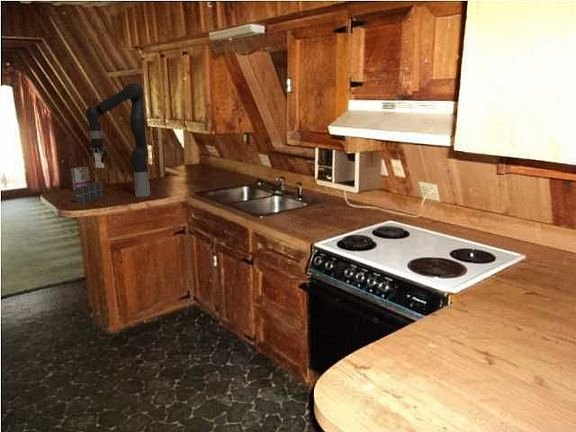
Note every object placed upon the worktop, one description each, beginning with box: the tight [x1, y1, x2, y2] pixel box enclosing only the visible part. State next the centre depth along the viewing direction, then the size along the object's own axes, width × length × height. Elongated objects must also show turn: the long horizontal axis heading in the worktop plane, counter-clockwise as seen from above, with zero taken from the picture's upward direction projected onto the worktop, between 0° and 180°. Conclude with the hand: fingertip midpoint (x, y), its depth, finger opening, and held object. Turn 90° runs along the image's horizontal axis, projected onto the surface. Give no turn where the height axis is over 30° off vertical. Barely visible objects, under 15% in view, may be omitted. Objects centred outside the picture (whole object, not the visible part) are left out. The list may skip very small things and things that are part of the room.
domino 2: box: [81, 185, 92, 202], centre depth 300 cm, size 2×5×10 cm, turn 75°
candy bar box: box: [70, 166, 91, 192], centre depth 329 cm, size 11×5×16 cm, turn 143°
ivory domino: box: [94, 153, 105, 169], centre depth 311 cm, size 2×5×10 cm, turn 76°
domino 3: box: [87, 183, 98, 200], centre depth 306 cm, size 2×5×10 cm, turn 75°
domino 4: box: [92, 181, 104, 198], centre depth 311 cm, size 2×5×10 cm, turn 75°
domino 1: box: [74, 187, 86, 205], centre depth 295 cm, size 2×5×10 cm, turn 75°
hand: (99, 162), depth 311 cm, fingers closed on ivory domino, 5 cm apart
